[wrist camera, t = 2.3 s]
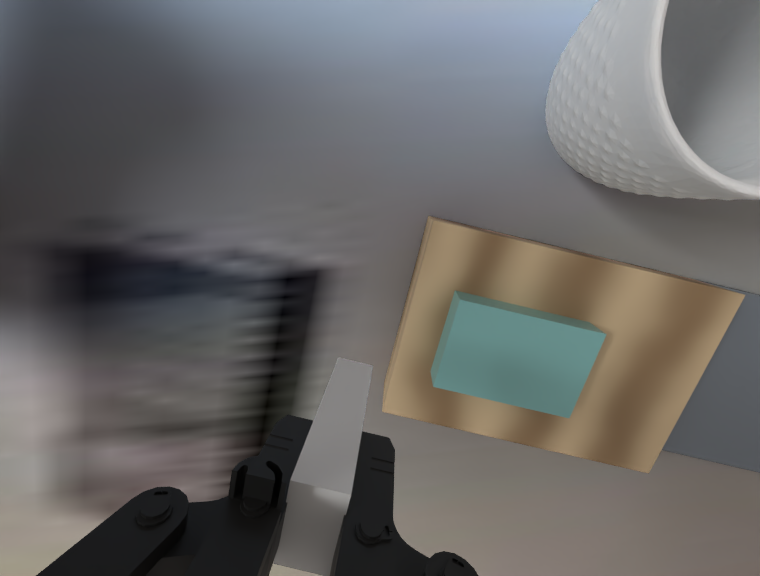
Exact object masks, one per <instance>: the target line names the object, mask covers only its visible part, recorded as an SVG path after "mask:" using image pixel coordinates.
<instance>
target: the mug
mask: <svg viewBox="0 0 760 576" xmlns="http://www.w3.org/2000/svg"><path fill="white" fill-rule="evenodd" d="M545 107H546V112H545V115H546V124H547V130H548V135H549V137H550V138H551V142H552V143H553V146H554V148H555V149H556V150H557V153H558V154H559V155H560V156H561V158H562V159H564V161H565V162H566V163H567V164H568V165H570V166H571V167H572V168H574V170H575V171H576V172H578V173H581V174H582V175H583V176H584V177H586V178H590V179H592V180H593V181H594V182H597V183H600V184H604V185H605V186H606V187H608V188H617V189H619V190H621V191H623V192H633V193H636V194H638V195H646V194H647V195H654V196H657V197H673V198H677V199H681V198H694V199H700V200H705V199H721V200H727V201H729V200H735V199H741V200H760V0H599V1H598V2H597V3H596V4H595V5H594V6H593V7H592V9H591V11H590V13H589V14H588V15H587V17H586V18H585V19H584V20H583V21H582V22H581V23H580V25H579V27H578V29H577V31H576V32H575V34H574V35H573V36H572V37H571V38H570V40H569V43H568V45H567V47H566V49H565V50H564V51H563V53H562V54H561V56H560V60H559V62H558V64H557V65H556V67H555V70H554V72H553V77H552V78H551V80H550V84H549V90H548V94H547V97H546V106H545Z"/></svg>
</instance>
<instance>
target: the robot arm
mask: <svg viewBox="0 0 760 576" xmlns="http://www.w3.org/2000/svg"><path fill="white" fill-rule="evenodd" d="M372 369H373V365H369V364H365V363H361V362H357V361H353V360H349V359H344V358H340V357H338V359H337V362H336V364H335V367H334V369H333V372H332V374H331V377H330V380H329V382H328V385H327V387H326V390H325V392H324V395H323V397H322V400H321V403H320V405H319V408H318V410H317V413H316V415H315V418H314V420H313V421H312V420H308V419H304V418H300V417H296V416H291V415H286V416H285V417H284V418H282V419H281V420H280V421H278V422H277V423H276V425H275V426H274V428H273V430H272V432H271V434H270V436H269V437H268V439H267V441H266V443H265V446H264V447H263V448H262V450H261V452H260V454H259V456H255V457H250V458H247V459H245V460H243V461H241V462H240V463H238V464H237V466H236V467H235V468H234V469H233V470H232V475H231V482H230V489H229V496H227V497H225V498H222V499H219V500H214V501H208V502H192V503H189V502H188V499H187V495H185V494H184V493H183V492H182V491H181V490H180V489H176V488H173V487H156V488H153V489H150V490H147V491H144V492H142V493H141V494H139V495H137V496H136V497H134V498H133V499H131V500H130V501H129V502H128V503H126V504H125V505H124V506H123V507H121V508H120V509H119V510H118V511H116V512H115V513H114V514H113V515H111V516H110V517H109V518H108V519H106V520H105V521H104V522H103V523H101V524H100V525H99V526H98V527H96V528H95V529H94V530H93V531H91V532H90V533H89V534H88V535H86V536H85V537H84V538H83V539H81V540H80V541H79V542H78V543H76V544H75V545H74V546H73V547H71V548H70V549H69V550H68V551H66V552H65V553H64V554H63V555H61V556H60V557H59V558H58V559H56V560H55V561H54V562H53V563H51V564H50V565H49V566H48V567H46V568H45V569H44V570H43V571H41V572H40V573H39V574H38V575H36V576H269V573H270V570H271V567H272V564H273V561H274V564H277V565H282V566H286V567H290V568H294V569H298V570H303V571H307V572H311V573H315V574H319V575H323V576H478V575H477V573H476V571H475V569H474V568H473V567H472V566H471V565H470V564H469V563H468V562H467V561H466V560H465V559H463V558H462V557H460V556H458V555H456V554H455V553H450V552H445V551H443V552H439V553H435V554H434V555H433V556H432V557H431V558H428V557H426V556H425V555H423V554H421V553H420V552H418V551H416V550H414V549H413V548H412V547H410V546H409V545H408V544H407V543H406V542H405V541H404V540H403V539H402V538H401V537H400V535H399V534H398V532H397V530H396V528H395V525H394V521H393V495H394V462H395V449H394V447H393V445H392V443H391V441H390V439H389V438H388V437H384V436H379V435H375V434H371V433H367V432H363V431H362V428H363V422H364V417H365V411H366V405H367V399H368V393H369V387H370V381H371V375H372ZM274 558H275V559H274Z"/></svg>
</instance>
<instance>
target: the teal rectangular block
mask: <svg viewBox="0 0 760 576" xmlns="http://www.w3.org/2000/svg"><path fill="white" fill-rule="evenodd" d="M606 335H607V334H606V333H604V332H603V331H601V330H600V329H598V328H597V327H595V326H594V325H593V324H591V323H590V322H586V321H582V320H578V319H574V318H569V317H565V316H561V315H557V314H553V313H548V312H544V311H540V310H536V309H531V308H527V307H523V306H519V305H515V304H510V303H506V302H502V301H498V300H493V299H489V298H485V297H481V296H477V295H472V294H468V293H464V292H460V291H456V290H455V292H454V295H453V298H452V302H451V305H450V308H449V312H448V315H447V318H446V321H445V325H444V328H443V331H442V335H441V338H440V341H439V345H438V348H437V351H436V355H435V358H434V361H433V364H432V368H431V371H430V372H431V377H432V383H433V387H436V388H441V389H445V390H449V391H453V392H458V393H462V394H466V395H471V396H475V397H479V398H484V399H488V400H492V401H496V402H501V403H505V404H509V405H514V406H518V407H522V408H526V409H531V410H535V411H539V412H544V413H548V414H552V415H557V416H561V417H565V418H570V416H571V414H572V411H573V409H574V407H575V405H576V402H577V400H578V398H579V396H580V393H581V391H582V389H583V387H584V384H585V382H586V380H587V378H588V375H589V373H590V371H591V369H592V366H593V364H594V362H595V360H596V357H597V355H598V353H599V350H600V348H601V346H602V344H603V341H604V339H605V337H606Z"/></svg>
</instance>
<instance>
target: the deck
mask: <svg viewBox="0 0 760 576" xmlns="http://www.w3.org/2000/svg"><path fill="white" fill-rule="evenodd" d="M455 290H456V291H460V292H464V293H468V294H472V295H477V296H481V297H485V298H489V299H493V300H498V301H502V302H506V303H510V304H515V305H519V306H523V307H527V308H531V309H536V310H540V311H544V312H548V313H553V314H557V315H561V316H565V317H569V318H574V319H578V320H582V321H586V322H590V323H591V324H593V325H594V326H595V327H597V328H598V329H600V330H601V331H603V332H604V333H606V334H607V335H606V337H605V339H604V341H603V344H602V346H601V348H600V350H599V353H598V355H597V357H596V360H595V362H594V364H593V366H592V369H591V371H590V373H589V375H588V378H587V380H586V382H585V384H584V387H583V389H582V391H581V393H580V396H579V398H578V400H577V402H576V405H575V407H574V409H573V411H572V414H571V416H570V418H565V417H561V416H557V415H552V414H548V413H544V412H539V411H535V410H531V409H526V408H522V407H518V406H514V405H509V404H505V403H501V402H496V401H492V400H488V399H484V398H479V397H475V396H471V395H466V394H462V393H458V392H453V391H449V390H445V389H441V388H436V387H433V383H432V377H431V372H430V371H431V368H432V364H433V361H434V358H435V355H436V351H437V348H438V345H439V341H440V338H441V335H442V331H443V328H444V325H445V321H446V318H447V315H448V312H449V308H450V305H451V302H452V298H453V295H454V292H455ZM744 297H745V295H744V294H741V293H737V292H734V291H731V290H727V289H724V288H721V287H718V286H714V285H711V284H708V283H704V282H701V281H698V280H694V279H690V278H686V277H682V276H678V275H674V274H670V273H665V272H661V271H657V270H653V269H649V268H645V267H640V266H636V265H632V264H628V263H624V262H620V261H615V260H611V259H607V258H603V257H599V256H595V255H590V254H586V253H582V252H578V251H574V250H570V249H565V248H561V247H557V246H553V245H549V244H544V243H540V242H536V241H532V240H528V239H524V238H519V237H515V236H511V235H507V234H503V233H499V232H494V231H490V230H486V229H482V228H478V227H474V226H469V225H465V224H461V223H457V222H453V221H449V220H444V219H440V218H436V217H432V216H428V219H427V223H426V227H425V231H424V234H423V238H422V242H421V246H420V250H419V253H418V257H417V261H416V265H415V268H414V272H413V276H412V280H411V284H410V287H409V291H408V295H407V299H406V302H405V306H404V310H403V314H402V318H401V321H400V325H399V329H398V333H397V336H396V340H395V344H394V348H393V352H392V355H391V359H390V363H389V367H388V370H387V374H386V378H385V382H384V393H383V407H382V412H385V413H390V414H394V415H398V416H403V417H407V418H411V419H416V420H420V421H424V422H429V423H433V424H437V425H442V426H446V427H450V428H455V429H459V430H463V431H467V432H472V433H476V434H480V435H485V436H489V437H493V438H498V439H502V440H506V441H511V442H515V443H519V444H524V445H528V446H532V447H537V448H541V449H545V450H550V451H554V452H558V453H563V454H567V455H571V456H576V457H580V458H584V459H589V460H593V461H597V462H602V463H606V464H610V465H614V466H619V467H623V468H627V469H632V470H636V471H640V472H645V473H649V472H650V470H651V468H652V466H653V465H654V463H655V461H656V459H657V457H658V455H659V454H660V452H661V450H662V448H663V446H664V444H665V443H666V441H667V439H668V437H669V435H670V433H671V431H672V430H673V428H674V426H675V424H676V422H677V420H678V419H679V417H680V415H681V413H682V411H683V409H684V408H685V406H686V404H687V402H688V400H689V398H690V396H691V395H692V393H693V391H694V389H695V387H696V385H697V384H698V382H699V380H700V378H701V376H702V374H703V373H704V371H705V369H706V367H707V365H708V363H709V361H710V360H711V358H712V356H713V354H714V352H715V350H716V349H717V347H718V345H719V343H720V341H721V339H722V338H723V336H724V334H725V332H726V330H727V328H728V326H729V325H730V323H731V321H732V319H733V317H734V315H735V314H736V312H737V310H738V308H739V306H740V304H741V303H742V301H743V299H744Z"/></svg>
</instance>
